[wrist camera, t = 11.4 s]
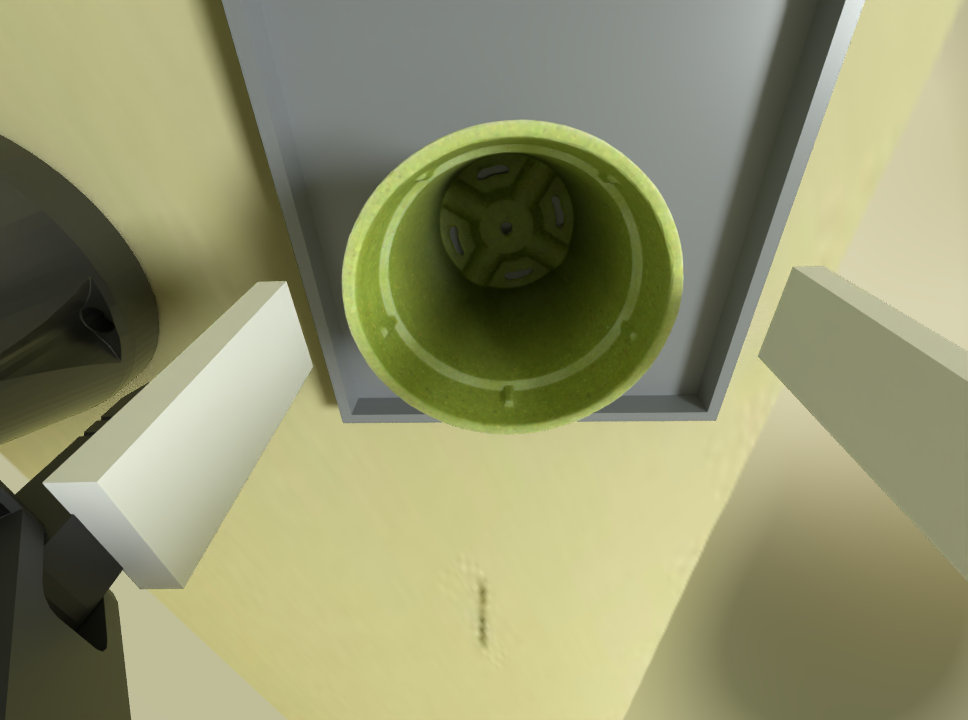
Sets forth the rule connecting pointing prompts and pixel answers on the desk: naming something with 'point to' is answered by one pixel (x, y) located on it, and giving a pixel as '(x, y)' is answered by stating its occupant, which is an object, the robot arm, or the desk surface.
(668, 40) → the tray
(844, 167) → the desk surface
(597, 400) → the plant pot
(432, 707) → the desk surface
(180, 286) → the desk surface
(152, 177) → the desk surface
